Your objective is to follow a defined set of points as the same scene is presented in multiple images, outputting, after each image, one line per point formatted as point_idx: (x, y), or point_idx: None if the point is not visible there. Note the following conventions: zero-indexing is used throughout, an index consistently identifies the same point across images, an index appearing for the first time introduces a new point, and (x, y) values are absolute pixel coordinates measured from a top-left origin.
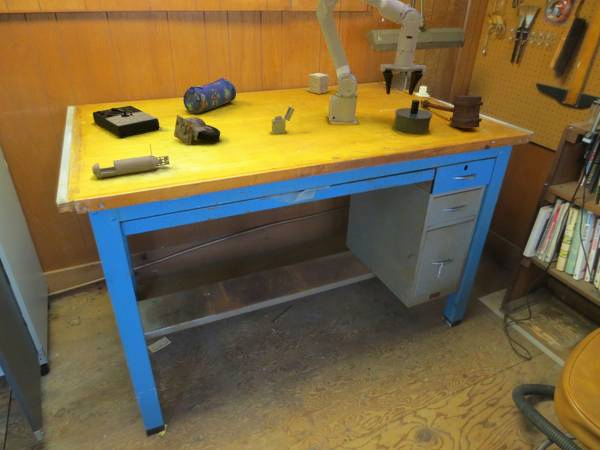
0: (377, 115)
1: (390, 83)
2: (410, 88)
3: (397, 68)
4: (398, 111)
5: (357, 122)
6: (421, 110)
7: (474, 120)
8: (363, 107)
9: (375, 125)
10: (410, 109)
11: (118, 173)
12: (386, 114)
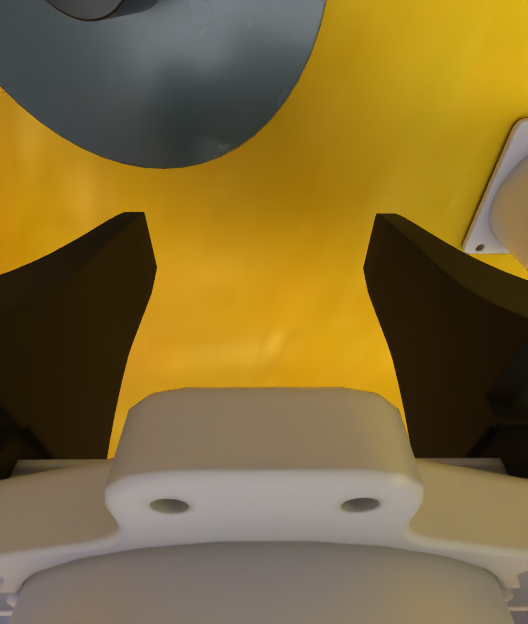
0: (311, 290)
1: (444, 264)
2: (133, 277)
3: (517, 484)
4: (287, 24)
5: (516, 131)
6: (44, 85)
7: None
8: (335, 378)
9: (398, 106)
10: (151, 117)
11: None
12: (260, 305)
